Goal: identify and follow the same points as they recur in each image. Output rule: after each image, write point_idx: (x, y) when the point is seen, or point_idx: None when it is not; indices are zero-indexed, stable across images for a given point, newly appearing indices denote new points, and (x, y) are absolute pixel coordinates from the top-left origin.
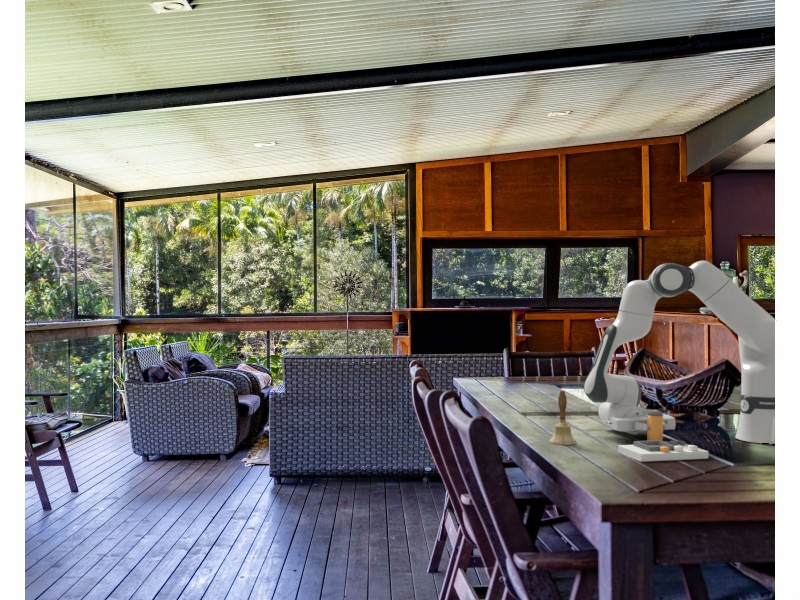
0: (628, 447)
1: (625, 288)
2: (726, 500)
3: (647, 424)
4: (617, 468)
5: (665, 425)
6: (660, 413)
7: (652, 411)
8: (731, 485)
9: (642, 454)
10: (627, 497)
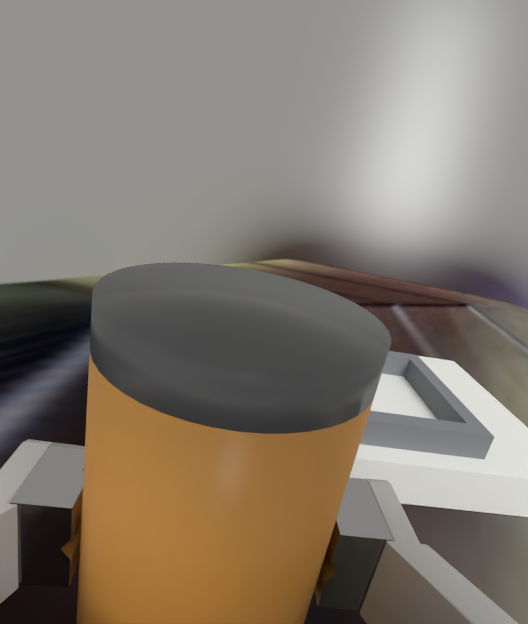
0: (512, 434)
1: None
2: (345, 270)
3: (348, 493)
4: (521, 368)
5: (65, 449)
6: (224, 266)
7: (232, 344)
8: (294, 277)
9: (446, 361)
10: (485, 302)
